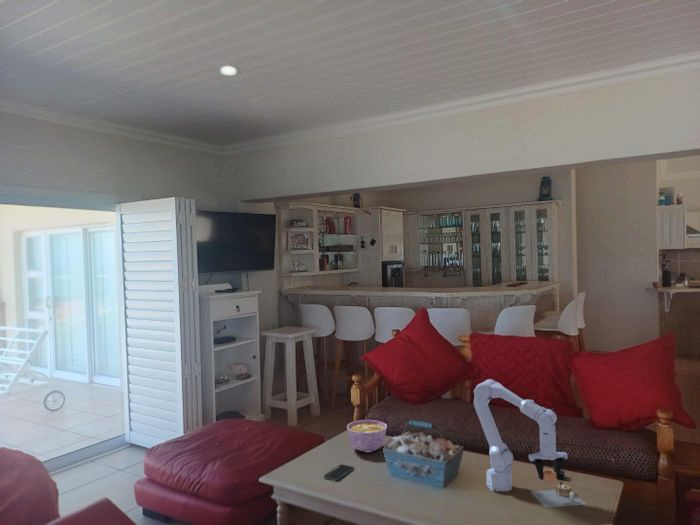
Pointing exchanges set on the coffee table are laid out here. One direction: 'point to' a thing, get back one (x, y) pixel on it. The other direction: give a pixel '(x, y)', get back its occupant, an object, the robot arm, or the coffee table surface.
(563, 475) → the black piece
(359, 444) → the bowl of food
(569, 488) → the gear
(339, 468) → the phone
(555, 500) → the gear board
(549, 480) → the gear
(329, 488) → the coffee table surface
